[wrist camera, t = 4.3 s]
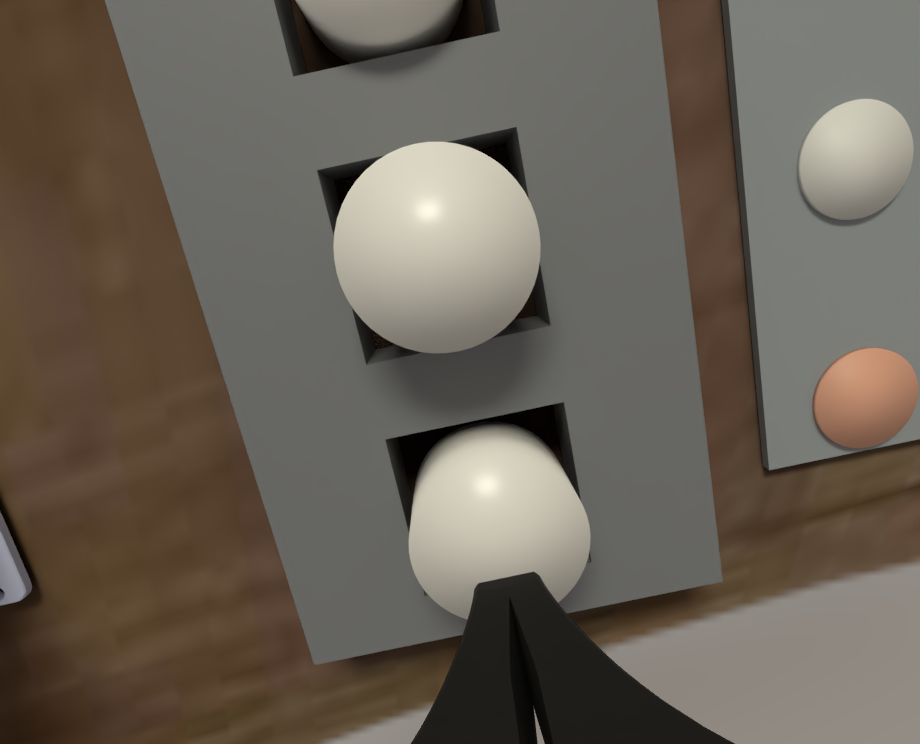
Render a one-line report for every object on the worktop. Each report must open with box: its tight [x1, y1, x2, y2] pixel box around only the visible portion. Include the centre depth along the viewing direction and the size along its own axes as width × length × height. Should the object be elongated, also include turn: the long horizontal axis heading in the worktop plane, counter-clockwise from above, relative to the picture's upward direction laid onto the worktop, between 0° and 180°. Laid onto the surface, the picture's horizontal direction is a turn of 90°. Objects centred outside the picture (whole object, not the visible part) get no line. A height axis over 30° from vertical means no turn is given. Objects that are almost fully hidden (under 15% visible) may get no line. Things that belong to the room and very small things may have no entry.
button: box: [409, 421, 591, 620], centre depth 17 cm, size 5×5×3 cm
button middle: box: [333, 142, 541, 353], centre depth 15 cm, size 5×5×3 cm
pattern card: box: [721, 0, 920, 470], centre depth 18 cm, size 7×20×1 cm, turn 12°
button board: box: [105, 0, 723, 665], centre depth 17 cm, size 14×25×2 cm, turn 12°
